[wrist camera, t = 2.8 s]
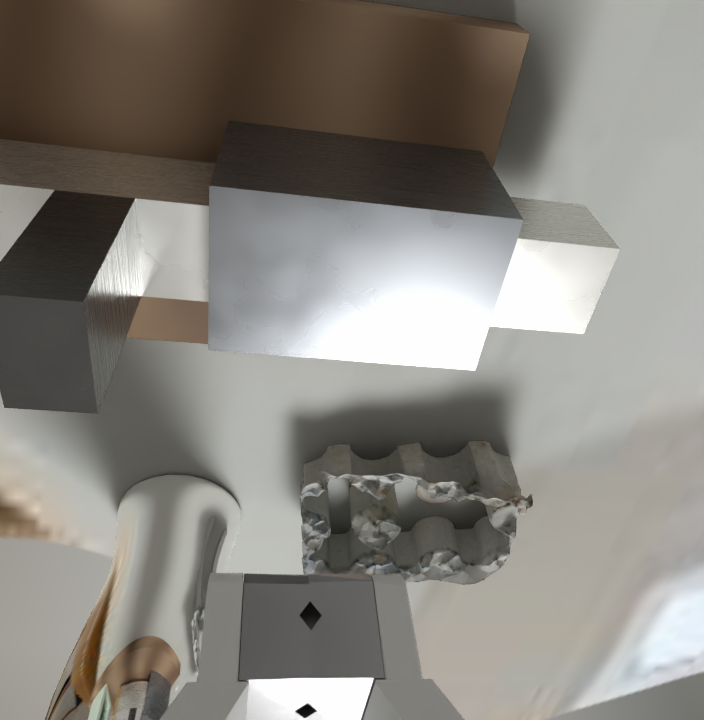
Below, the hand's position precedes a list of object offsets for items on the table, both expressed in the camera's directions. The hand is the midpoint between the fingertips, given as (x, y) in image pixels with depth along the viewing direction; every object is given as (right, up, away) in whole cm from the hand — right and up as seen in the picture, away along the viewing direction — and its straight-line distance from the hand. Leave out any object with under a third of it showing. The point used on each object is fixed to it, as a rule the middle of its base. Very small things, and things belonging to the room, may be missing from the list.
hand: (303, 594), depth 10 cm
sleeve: (+1, +9, +12) cm, 14 cm away
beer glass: (-8, -4, +23) cm, 24 cm away
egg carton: (+3, -3, +23) cm, 23 cm away
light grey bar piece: (-2, +8, +10) cm, 14 cm away
